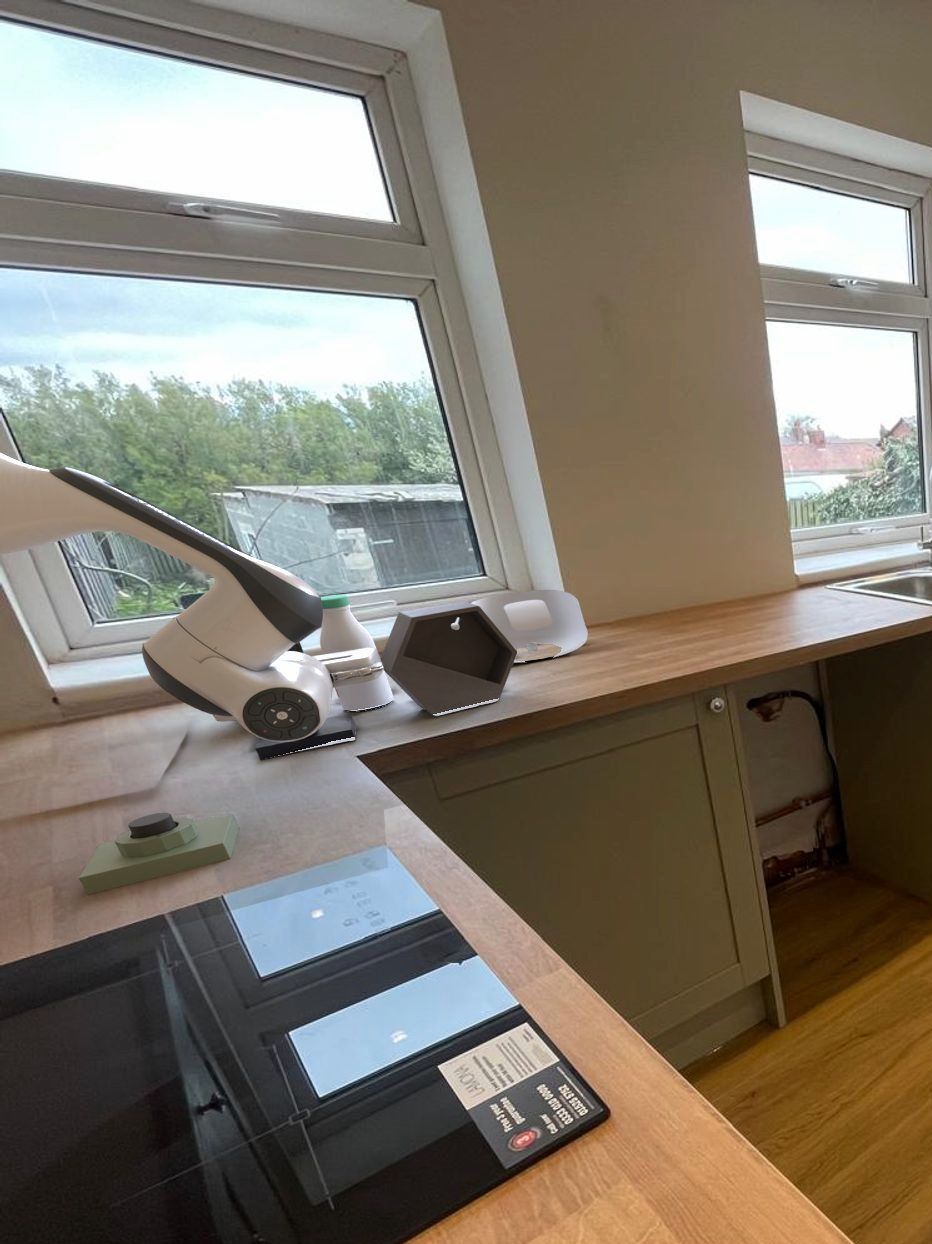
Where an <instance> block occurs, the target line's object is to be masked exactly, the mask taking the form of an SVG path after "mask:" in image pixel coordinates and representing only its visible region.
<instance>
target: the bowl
mask: <svg viewBox="0 0 932 1244" xmlns="http://www.w3.org/2000/svg"><path fill="white" fill-rule="evenodd" d="M471 603H472V604H474V605H477V606H480V607H481V609H482V610H483V611H484V612H485V613H486V615H487V616H488V617H489V618H490V619H491V621H492V622H493V623H494V624H495V625H496V627H497V628H498V629H499V630H500V631H501V633H502V634H503V635H504V636H505V637H506V638H507V640H508V641H509V642H510V643H511V644H512V646H513V647H514V648H515V649H516V650H517V648H520V647H525V646H526V649H527V650H528V651H529V652H530V651H537V650H538V645H537V644H553V645H556V646H559V647H561V648H562V649H561V652H560V653H558V654H557V655H555V656H554V657H553V658H556V657H559V656H563V655H567V654H569V653H572V652H573V651H576V650H578V649H579V648H581V647H582V646H583V645H584V644H585V643H586V642H587V640H588V637H589V631H588V627H587V626H586V623H585V619H584V616H583V612H582V609H581V605H580V602H579V600H578V598H576V597H575V596H574V595H573V594H572V593H569V592H568V591H565V590H557V589H536V590H535V589H534V590H525V591H517V592H509V593H502V594H497V595H492V596H491V595H490V596H488V597H483V598H480V599H476V600H474V601H472V602H471ZM514 663H526V662H525V661H516V660H514Z"/></svg>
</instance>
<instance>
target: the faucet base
mask: <svg viewBox="0 0 932 1244" xmlns="http://www.w3.org/2000/svg"><path fill="white" fill-rule="evenodd" d="M355 723H356V720H355V718H354V715H353V713H348V714H343V715H336V716H332V717H327V719H326V720H325V722H324V724H323V725H322V726H321V727H320V728H319V729H318V730H317V731H316V732H315V733H313V734H311V735H309V736H307V737H305V738H303V739H300V740H296V741H291V742H274V741H268V740H265V739H262V738H259V737H258V739H257V742H256V746H255V751H256V753H257V756H258V758H259V761H262V759H263V760H266V759H265V758H268V759H271V758H270V757H273V758H275V757H274V756H278V755H283V754H286V753H290V752H295V751H298V750H302V749H306V748H310V747H314V746H318V745H322V744H326V743H328V742H331V741H336V740H341V739H346V738H351V737H355ZM283 756H284V755H283ZM278 757H279V756H278Z"/></svg>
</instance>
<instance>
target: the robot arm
mask: <svg viewBox="0 0 932 1244" xmlns="http://www.w3.org/2000/svg"><path fill="white" fill-rule="evenodd" d="M99 532H101V533H102V532H113V533H119V534H124V535H127V536H130V537H133V538H135V539H137V540H140V541H142V542H144V543H145V544H146V545H147V544H148V545H150V546H151V547H153V548H155V549H158V550H159V551H161V552H163V553H166V554H167V555H169V556H171V557H173V558H176V559H177V560H179V561H181V562H184V563H185V564H188V565H189V566H191V567H192V568H193V567H194V568H195V569H197V570H199V571H200V572H203V573H205V574H207V575H209V576H210V577H212V578H213V579H214V580H213V581H214V582H213V585H211V587H210V588H209V589H208V590H207V591H206V592H205V593H203V595H201V596H200V597H199V598H198V599H196V600H195V601H194V602H193V603H191V604H190V605H189V606H188V607H187V608H186V609H184V610H183V611H182V612H180V614H178V615H175V616H174V617H173V618H172V619H171V620H170V621H168V622H167V623H166V624H165V625H163V626H162V627H161V628H160V629H159V630H157V631H156V632H155V633H154V634H153V635H151V637H149V638H148V639H147V640H146V641H145V642H143V643H142V647H141V654H142V655H141V656H142V659H143V662H144V665H145V668H146V669H147V672H148V674H149V676H150V677H151V679H152V680H153V681H154V682H155V683H156V685H158V686H159V687H160V688H161V689H162V690H164V691H165V692H166V693H168V694H169V695H170V696H172V697H173V698H175V699H177V700H179V701H180V702H182V703H184V704H186V705H188V706H189V707H191V708H194V709H196V710H199V711H201V712H203V713H205V714H209V715H212V717H213V718H214V720H215V721H216V722H218V723H224V722H225V723H226V722H238V723H239V724H240V725H241V727H242V728H244V730H245V731H247V732H249V733H250V734H252V735H253V736H255V737H257V738H258V739H259V738H262V739H265V740H268V741H274V742H291V741H296V740H300V739H303V738H305V737H307V736H309V735H311V734H313V733H315V732H316V731H317V730H318V729H319V728H320V727H321V726H322V725H323V724H324V722H325V720H326V719H327V718H329V717H328V716H329V714H330V712H331V708H332V699H333V692H334V689H335V687H340V686H346V685H352V684H357V683H363V682H367V681H371V680H374V679H376V678H378V677H379V676H380V675H381V674H382V672H383V670H384V665H383V664H382V662H381V656H380V653H379V651H378V649H377V647H376V648H363V649H356V650H350V651H343V652H337V653H331V654H324V655H323V654H318V655H310V654H307V653H305V652H304V653H300V652H294V651H288V650H289V649H290V648H291V647H292V646H293V645H294V644H298V643H299V642H300V643H301V642H302V641H304V640H305V639H306V638H308V637H309V636H310V635H312V634H313V633H315V632H316V631H317V630H319V629H320V628H322V620H323V607H322V601H321V597H322V596H321V595H320V594H318V592H316V591H315V590H314V589H313V587H312V586H311V585H309V584H308V583H307V582H306V581H304V580H303V579H302V578H300V577H299V576H297V575H295V574H294V573H292V572H289V571H288V570H285V569H283V568H282V567H278V566H276V565H274V564H271V563H268V562H266V561H263V560H261V559H259V558H257V557H254V556H252V555H251V554H248V553H246V552H245V551H242V550H241V549H239V548H236V547H235V546H233V545H231V544H229V543H227V542H225V541H224V540H222V539H219V538H218V537H216V536H214V535H212V534H211V533H208V532H207V531H204V530H202V529H200V528H199V527H197V526H195V525H193V524H192V523H189V522H187V521H185V520H183V519H181V518H180V517H178V516H176V515H174V514H173V513H170V512H168V511H166V510H164V509H163V508H160V507H159V506H157V505H155V504H153V503H151V502H149V501H147V500H145V499H143V498H141V497H139V496H137V495H135V494H133V493H132V492H129V491H127V490H125V489H123V488H121V487H119V486H117V485H115V484H113V483H110V482H108V481H107V480H104V479H102V478H100V477H98V476H96V475H93V474H90V473H87V472H84V471H82V470H78V469H74V468H71V467H67V466H66V467H59V468H52V469H51V468H50V469H46V468H41V467H37V466H35V465H30V464H28V463H26V462H25V463H24V462H22V461H19V460H17V459H14V458H12V457H10V456H9V455H8V456H7V455H5V454H4V453H1V452H0V555H5V554H14V553H17V552H24V551H28V550H33V549H36V548H39V547H43V546H47V545H50V544H54V543H58V542H60V541H63V540H68V539H71V538H74V537H78V536H82V535H86V534H91V533H99Z"/></svg>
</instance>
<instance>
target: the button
mask: <svg viewBox="0 0 932 1244" xmlns="http://www.w3.org/2000/svg"><path fill="white" fill-rule="evenodd" d="M173 818H174V817H173V816H172V814H171V813H169V812H157V813H151V814H147V815H144V816H142V817H139V818H136V819H134V820H132V821H130V822H129V823H128V825H127V827H128V830H130V831H131V833H132V835H133V837H134V838H135V839H138V838H146V837H151V836H155V835H159V834H162V833H165V832H167V831H170V830H172V829H174V828H176V827H177V826H176V824H175V822H174V820H173Z"/></svg>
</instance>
